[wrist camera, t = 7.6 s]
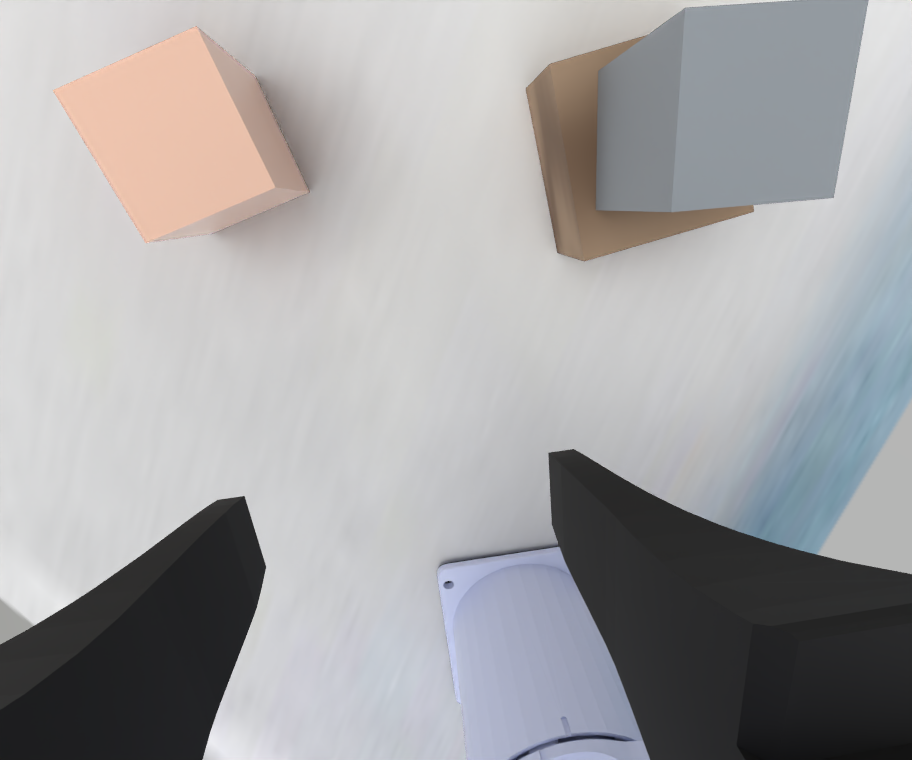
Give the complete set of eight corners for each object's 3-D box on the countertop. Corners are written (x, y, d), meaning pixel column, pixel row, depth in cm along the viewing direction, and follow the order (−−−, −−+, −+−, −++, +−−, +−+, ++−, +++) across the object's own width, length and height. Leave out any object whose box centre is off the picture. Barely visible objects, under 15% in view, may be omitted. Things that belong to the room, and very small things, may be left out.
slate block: (712, 200, 16) (833, 197, 12) (595, 210, 16) (671, 212, 11) (725, 61, 15) (869, -5, 10) (598, 70, 15) (685, 8, 10)
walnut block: (697, 210, 20) (753, 211, 17) (555, 252, 20) (584, 261, 17) (681, 43, 18) (743, 6, 14) (524, 90, 18) (549, 64, 15)
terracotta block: (310, 192, 18) (275, 187, 13) (213, 233, 18) (145, 243, 14) (255, 76, 17) (196, 25, 12) (151, 122, 17) (52, 90, 12)
